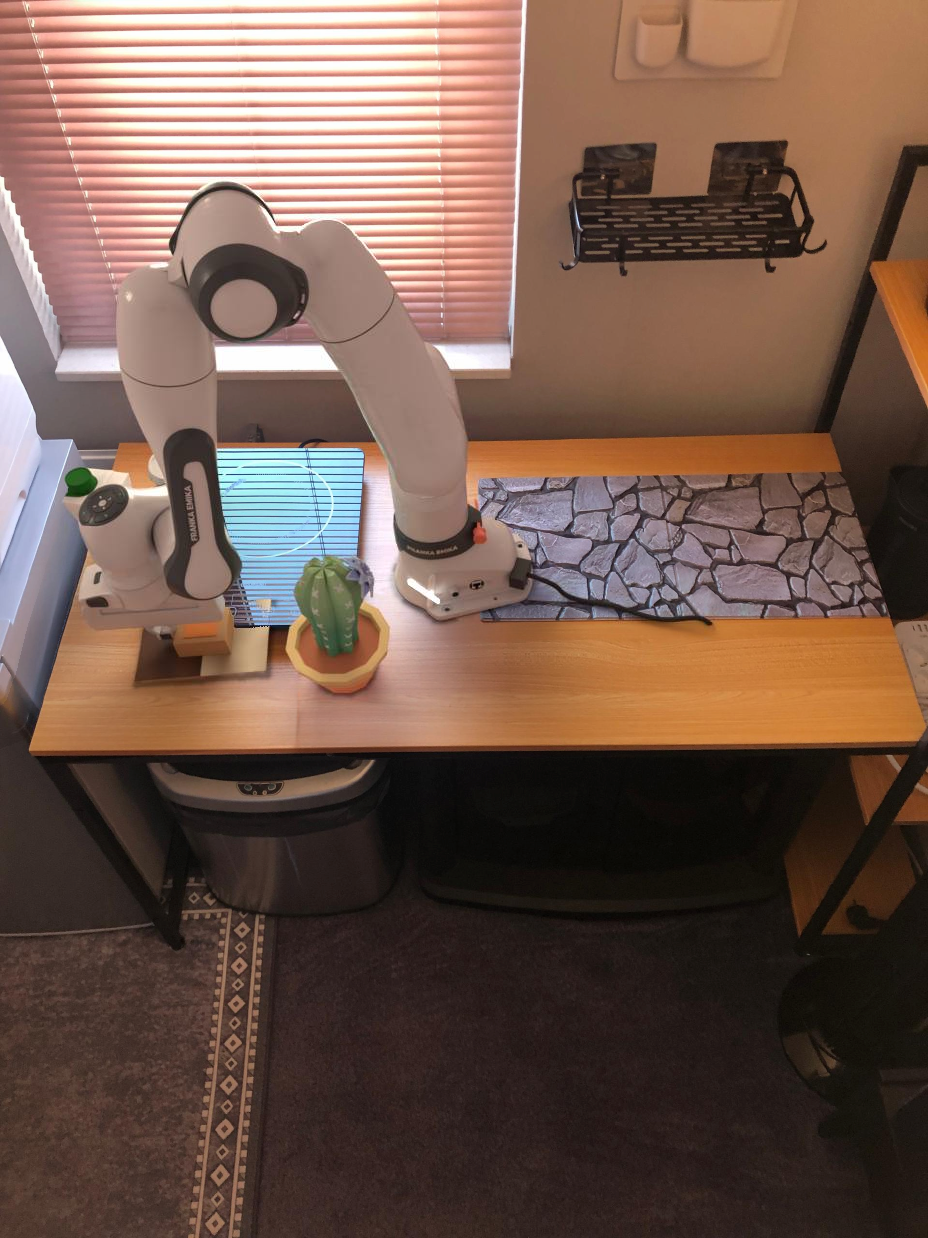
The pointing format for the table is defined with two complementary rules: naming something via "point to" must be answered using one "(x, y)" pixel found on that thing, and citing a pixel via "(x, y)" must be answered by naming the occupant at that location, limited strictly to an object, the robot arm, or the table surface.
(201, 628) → the coffee packet
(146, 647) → the board
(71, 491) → the milk carton
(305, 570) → the potted cactus
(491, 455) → the table surface
